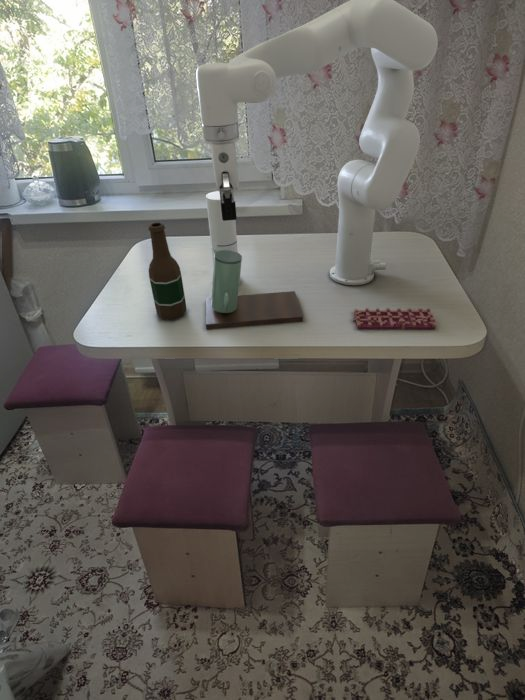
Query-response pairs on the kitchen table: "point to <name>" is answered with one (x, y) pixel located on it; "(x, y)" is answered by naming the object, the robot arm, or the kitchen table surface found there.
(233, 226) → the cylindrical container
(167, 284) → the beer bottle
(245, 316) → the serving board
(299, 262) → the kitchen table surface
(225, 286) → the jug
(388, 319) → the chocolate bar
